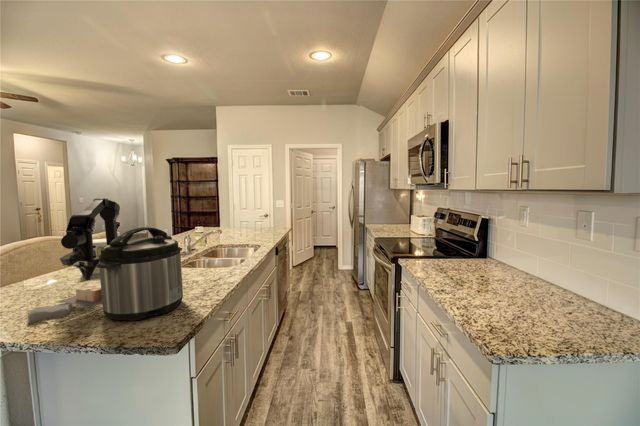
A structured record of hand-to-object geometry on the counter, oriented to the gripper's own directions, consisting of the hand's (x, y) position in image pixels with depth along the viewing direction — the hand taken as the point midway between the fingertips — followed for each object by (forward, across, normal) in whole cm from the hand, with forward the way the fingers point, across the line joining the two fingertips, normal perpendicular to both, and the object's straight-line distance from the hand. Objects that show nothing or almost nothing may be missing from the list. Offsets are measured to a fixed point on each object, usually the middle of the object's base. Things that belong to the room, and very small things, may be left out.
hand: (87, 280), depth 129 cm
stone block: (+9, +3, -16) cm, 18 cm away
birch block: (+5, -3, 0) cm, 6 cm away
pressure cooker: (+8, +32, -1) cm, 33 cm away
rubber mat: (+8, +1, 0) cm, 8 cm away
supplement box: (+8, -40, +33) cm, 52 cm away
